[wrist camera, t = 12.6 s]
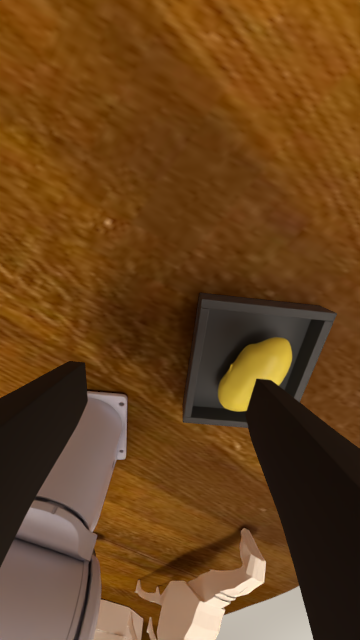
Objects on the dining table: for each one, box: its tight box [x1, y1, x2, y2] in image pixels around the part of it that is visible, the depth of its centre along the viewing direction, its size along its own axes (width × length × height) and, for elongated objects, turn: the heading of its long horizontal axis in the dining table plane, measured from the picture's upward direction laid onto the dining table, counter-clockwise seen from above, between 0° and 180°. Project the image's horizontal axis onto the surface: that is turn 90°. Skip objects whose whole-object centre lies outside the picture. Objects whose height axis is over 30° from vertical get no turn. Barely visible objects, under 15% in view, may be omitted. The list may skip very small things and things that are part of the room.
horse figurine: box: [127, 528, 266, 640], centre depth 29 cm, size 5×16×25 cm
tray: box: [183, 293, 337, 428], centre depth 18 cm, size 12×10×2 cm
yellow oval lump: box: [218, 337, 292, 412], centre depth 16 cm, size 4×8×4 cm, turn 143°
